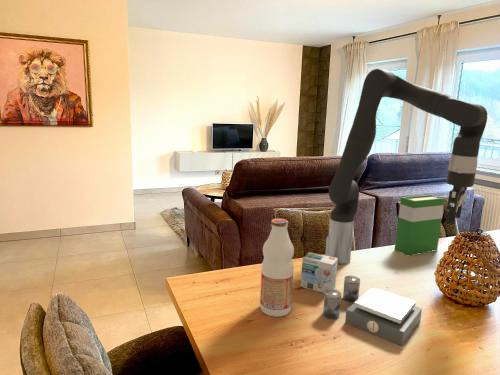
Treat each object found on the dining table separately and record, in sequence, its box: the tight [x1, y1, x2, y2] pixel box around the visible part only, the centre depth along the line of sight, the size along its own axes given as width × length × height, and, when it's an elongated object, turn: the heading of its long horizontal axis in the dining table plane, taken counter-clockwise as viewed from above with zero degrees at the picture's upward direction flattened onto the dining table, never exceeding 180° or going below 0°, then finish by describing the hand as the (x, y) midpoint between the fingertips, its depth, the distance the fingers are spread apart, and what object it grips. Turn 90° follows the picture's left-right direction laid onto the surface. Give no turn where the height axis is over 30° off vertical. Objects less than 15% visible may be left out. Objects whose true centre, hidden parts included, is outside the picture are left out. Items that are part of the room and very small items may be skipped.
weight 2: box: [342, 275, 361, 304], centre depth 120 cm, size 5×5×7 cm
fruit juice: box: [259, 218, 295, 318], centre depth 110 cm, size 9×9×28 cm
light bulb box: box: [300, 251, 338, 294], centre depth 128 cm, size 11×7×11 cm, turn 62°
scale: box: [344, 303, 423, 346], centre depth 108 cm, size 16×16×4 cm
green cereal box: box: [394, 194, 446, 256], centre depth 164 cm, size 18×7×24 cm, turn 114°
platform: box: [353, 286, 417, 324], centre depth 107 cm, size 13×13×1 cm
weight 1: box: [322, 288, 342, 320], centre depth 111 cm, size 5×5×7 cm
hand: (453, 220), depth 119 cm, fingers open, 8 cm apart
